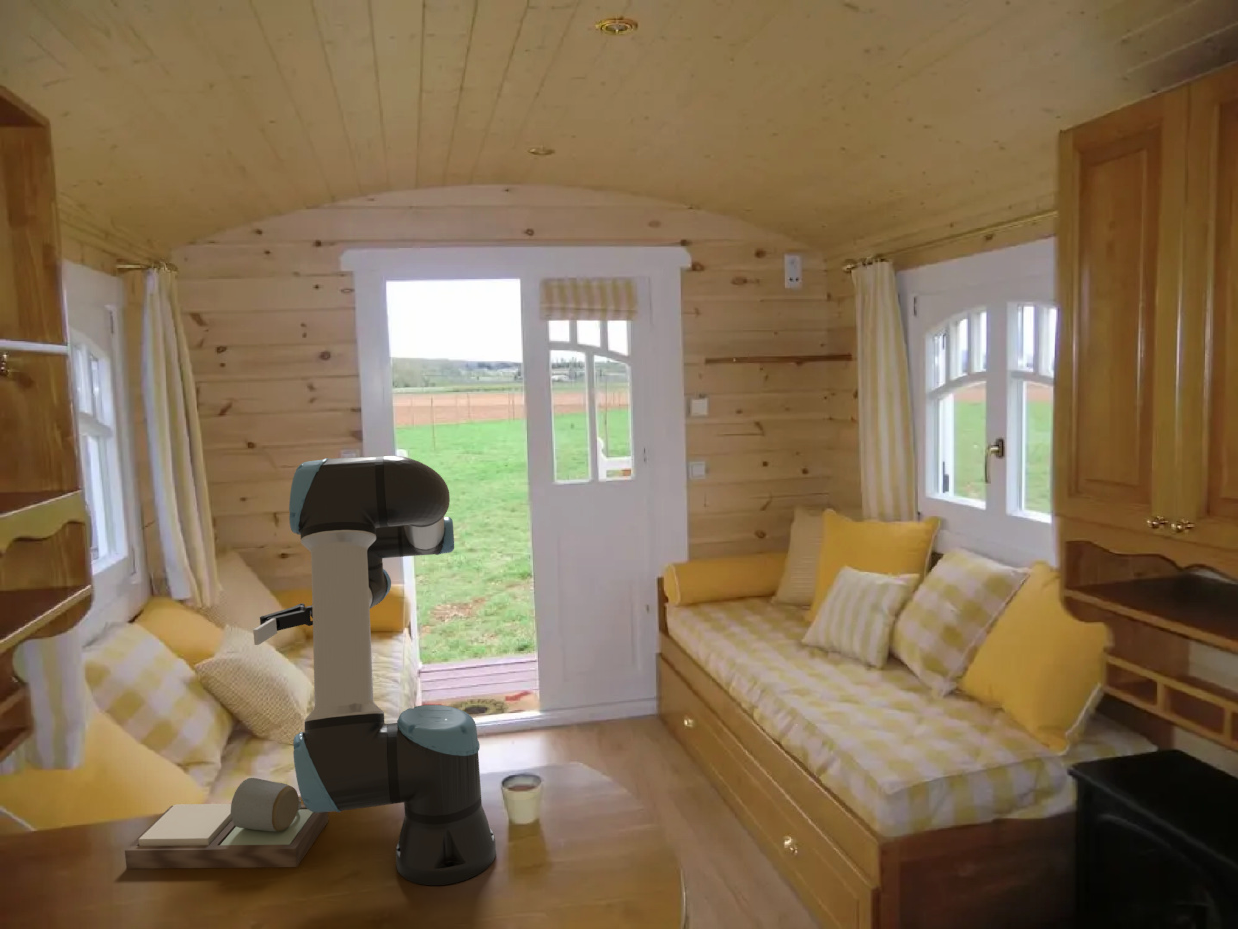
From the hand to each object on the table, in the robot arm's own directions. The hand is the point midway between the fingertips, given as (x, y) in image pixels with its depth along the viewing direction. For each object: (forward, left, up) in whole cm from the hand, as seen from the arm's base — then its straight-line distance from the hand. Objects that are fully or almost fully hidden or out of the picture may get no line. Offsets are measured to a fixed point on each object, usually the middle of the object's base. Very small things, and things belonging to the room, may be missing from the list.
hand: (293, 637), depth 160 cm
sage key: (-5, +12, -30) cm, 33 cm away
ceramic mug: (-4, +11, -27) cm, 30 cm away
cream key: (+6, +18, -29) cm, 34 cm away
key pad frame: (+1, +15, -30) cm, 34 cm away
